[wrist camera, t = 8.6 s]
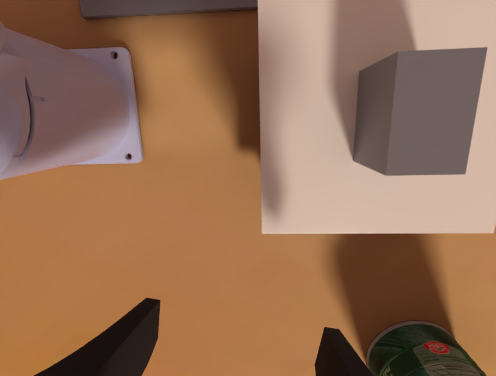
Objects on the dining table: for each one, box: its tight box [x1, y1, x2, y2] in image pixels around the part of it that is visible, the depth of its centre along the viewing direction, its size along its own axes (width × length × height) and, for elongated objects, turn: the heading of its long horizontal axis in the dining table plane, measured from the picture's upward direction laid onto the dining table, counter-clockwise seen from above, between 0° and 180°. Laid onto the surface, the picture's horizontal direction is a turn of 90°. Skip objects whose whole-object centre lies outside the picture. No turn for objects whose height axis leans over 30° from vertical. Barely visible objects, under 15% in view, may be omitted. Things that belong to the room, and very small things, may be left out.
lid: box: [258, 0, 496, 234], centre depth 12 cm, size 13×13×5 cm
